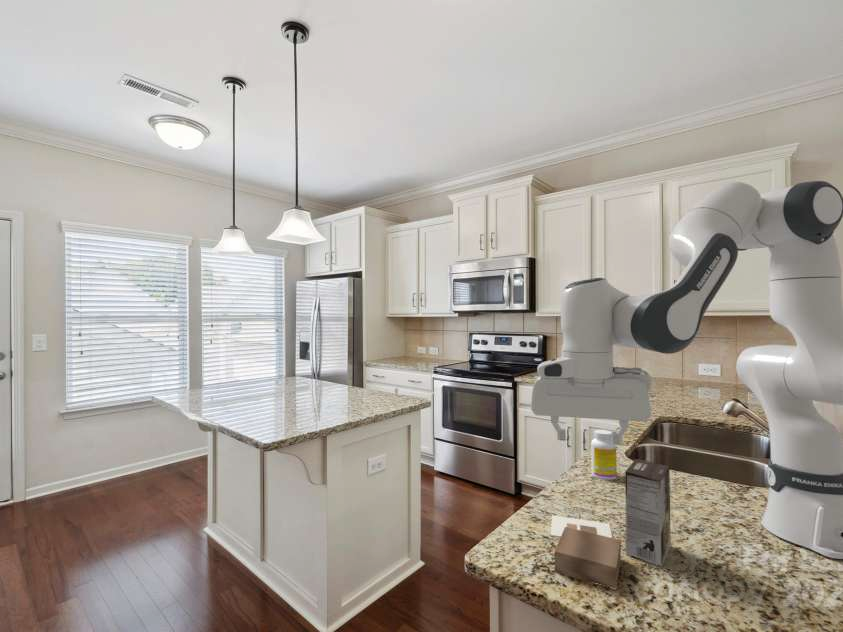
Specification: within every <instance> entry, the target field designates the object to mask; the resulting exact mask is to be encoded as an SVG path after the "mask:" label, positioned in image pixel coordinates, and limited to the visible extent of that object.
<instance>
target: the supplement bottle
mask: <svg viewBox="0 0 843 632" xmlns="http://www.w3.org/2000/svg"><path fill="white" fill-rule="evenodd" d="M612 433H613V432H612V431H610V430H607V429H596V430H594V438H593V439H592V440H591V442H590V472H591V476H592V477H594V478H596V479H600V480H605V481H612V480H616V479H617V474H618V473H617V445H614V444H613V443H612V438H613V437H612Z"/></svg>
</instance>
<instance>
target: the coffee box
mask: <svg viewBox="0 0 843 632" xmlns="http://www.w3.org/2000/svg"><path fill="white" fill-rule="evenodd" d="M624 474H625V479H624V480H625V481H624V482H625V483H624V484H625V487H624V488H625V491H624V492H625V555H626V556H628V555H630V556H629V557H631V556H634V557H637V558H640V559H643V560H646V561H648V562H647V563H649V562H651V563H650V564H652V563H654V564H653V565H655V564H657V565H660V566H659V567H663V565H664V563H665V562H666V561H665V560H666V558H667V555H668V553H669V551H670V548H671V487H670V486H671V483H670V482H671V480H670V475H671V474H670V465H667V464H666V465H665V464H660V463H657V462H653V461H648V460H643V459H638V458H635V459H634V461H633V462H632V463H631V464H630V465H629V466H628V468H627V469H626V470H625V472H624ZM634 557H633V558H634ZM637 558H636V559H637ZM640 559H639V560H640ZM643 560H642V561H643ZM646 561H645V562H646ZM657 565H656V566H657Z"/></svg>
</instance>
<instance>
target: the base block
mask: <svg viewBox="0 0 843 632" xmlns="http://www.w3.org/2000/svg"><path fill="white" fill-rule="evenodd" d="M621 542H622V541H621V539H617V538H613V537H612V538H610V537H606V536H601V535H597V534H593V533H589V532H585V531H580V530H576V529H572V528H568V527H565V529H564V531H563V533H562V535H561V537H559V540H558V542H557V545H556V547H555V550H554V573H557V574H561V575H563V576H567V577H570V578H574V577H575V578H574V579H577V578H578V579H577V580H581V581H584V580H585V582H587V581H589V582H588V583H591V582H594V583H598V584H602V585H605V586H609V587H612V588H618V582H617V581H618V580H619V575H618V574H619V573H620V567H621V561H620V560H622V557H621V555H622V549H621V544H622V543H621ZM594 583H593V584H594ZM598 584H597V585H598ZM605 586H604V587H605Z"/></svg>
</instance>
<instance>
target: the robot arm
mask: <svg viewBox="0 0 843 632" xmlns="http://www.w3.org/2000/svg"><path fill="white" fill-rule="evenodd" d="M842 218H843V195H842V193H841V192H840V190H839V189H838V188H837V187H835V186H834V185H832V184H831V183H829V182H827V181H823V180H814V181H813V180H812V181H805V182H799V183H797V184H794V185H791V186H784V187H780V188H777V189H773V190H769V191H764V192H762V193H760V192H759V190H757V189H756V188H755V187H754V186H752V185H750V184H748V183H745V182H741V181H731V182H727V183H726V182H725V183H723V184H721V185H719V186H717V187H715V189H713V190H711V191H710V192H709V193H707V194H706V195H704V197H702V198H701V199H700V200H698V201H697V202H696V203H695V204H694V205H693V206H692V207H691V208H690V209H689V210H688V211H687V212H686V213H685V214H684V215H683V217H682V218H680V220H679V221H678V222H677V223H676V224H675V226H674V227H673V229H672V230H671V232H670V234H669V236H668V247H669V251H670V253H671V255H672V256H673V257H674V259H675V260H676V261H677V262H678V263H680V265H682V266H683V267H685V269H684V270H683V271H682V273H681V274H680V275H679V277H678V279H677V280H676V281H675V283H674V284H673V285H672V286H670V287H669V288H667V289H665V290H662V291H660V292H656V293H653V294H652V293H651V294H643V295H641V294H640V295H630V294H628V293H626V292H623V291H621V290H619V289H617V288H615V287H614V286H613V285H612V284H610V283H609V282H608V280H607V279H606V278H603V277H594V278H589V279H583V280H577V281H573V282H571V283H569V284H568V285H566V286H565V288H564V290H563V292H562V296H561V304H560V329H561V333H562V336H563V340H562V345H561V349H560V350H561V356H560V357H556V358H552V359H550V360H546V361H542V362H541V363H540V364H538V365H537V368H536V369H537V374H538V377H536V379H535V381H534V384H533V386H532V391H531V401H530V410H531V412H532V413H533V414H534V415H535V416H543V417H544V416H545V417H550V423H551V424H552V426H553V428H554V430H555V432H556V433H557V435H556V440H557V441H564V442H565V441H566V440H567V438H566V437H567V435H566V433H567V431H566V429H564V428H561V426H560V425H559V423H560V422H559V419H560V417H561V418H574V419H590V420H591V419H593V420H594V419H595V420H608V421H609V420H610V421H611V420H613V421H618V424H619V426H620V427H619V428H618V430H617V431H616V432H612V438H611V439H612V443H613V444H614V445H616V446H617V445H618V446H623V436H624V434H625V433H626V431H627V429H628V428H629V422H630V421H631V422H647V421H648V420H649V419H651V417H652V409H651V403H650V396H649V392H650V391H651V389H652V376H651V375H650V373H648V371H646V370H643V369H642V368H641V367H625V366H624V367H620V366H614V346H617V347H625V348H630V349H641V350H648V351H653V352H657V353H661V354H666V355H669V354H671V355H672V354H676V353H679V352H681V351H683V350H684V349H686V348H688V346H689V345H690V344H691V343H692V342H693V341H694V340H695V338H696V336H697V335H698V332H699V329H700V326H701V322H702V320H703V318H704V316H705V313H706V311H707V310H708V308H709V306H710V304H711V303H712V302H713V300H714V298H715V297H716V295H717V294H718V292H719V290H720V289H721V287H722V286H723V284H724V283H725V282H726V280H727V278H728V277H729V275H730V273H731V271H732V270H733V268H734V266H735V264H736V262H737V259H738V255H739V251H741V252H743V251H747V250H752V249H754V250H755V249H763V248H768V250H769V251H770V253H771V255H770V259H769V269H768V311H769V312H768V313H769V316H770V318H771V319H772V320H773V321H774V322H775V323H776V324H778V325H780V326H781V327H785V328H786V329H787V330H788V331H789V332H790V334H791V335H792V337H793V338H794V341H795V342H796V345H787V344H786V345H785V344H784V345H783V344H765V345H756V346H751V347H747V348H745V349H743V351H741V353H740V354H739V355H738V357H737V360H736V362H735V363H736V364H735V371H736V374H737V376H738V378H739V380H740V382H741V383H742V384H744V385H745V386H746V387H747V388H748V389H749V390H750V391H751V392H752V393H753V394H754V396H755V397H756V399H757V401H758V402H759V403H760V405H761V408H762V409H763V411H764V414H765V417H766V419H767V423H768V424H767V425H768V429H769V445H770V458H768V462H767V470H766V471H767V474H766V475H767V482H768V483H767V484H768V486H769V492H768V496H767V503H766V507H765V511H764V514H763V516H762V519H761V520H760V522H761V524H762V527H764V529H765V530H767V531H768V532H769V533H771V534H773V535H774V536H777V537H779V538H781V539H782V540H785V541H788V542H789V543H792V544H795V545H799V546H801V547H804V548H807V549H810V550H812V551H814V552H816V553H818V554H821V555H823V556H825V557H828V558H831V559H839V560H843V435H842V433H841V431H840V429H839V428H838V427H837V426H835V425H834V424H833V423H832V422H830V421H829V420H827V418H824V416H822V414H820V413H819V411H818V410H817V408H816V407H815V404H814V402H813V401H815V402H821V403H826V404H831V405H838V406H843V297H842V275H841V273H842V272H841V271H842V270H841V260H840V255H839V254H840V253H839V250H838V246H837V242H836V239H835V236H834V232H835V230H836V229H837V228H838V226H839V225H840V222H841V221H842Z"/></svg>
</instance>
